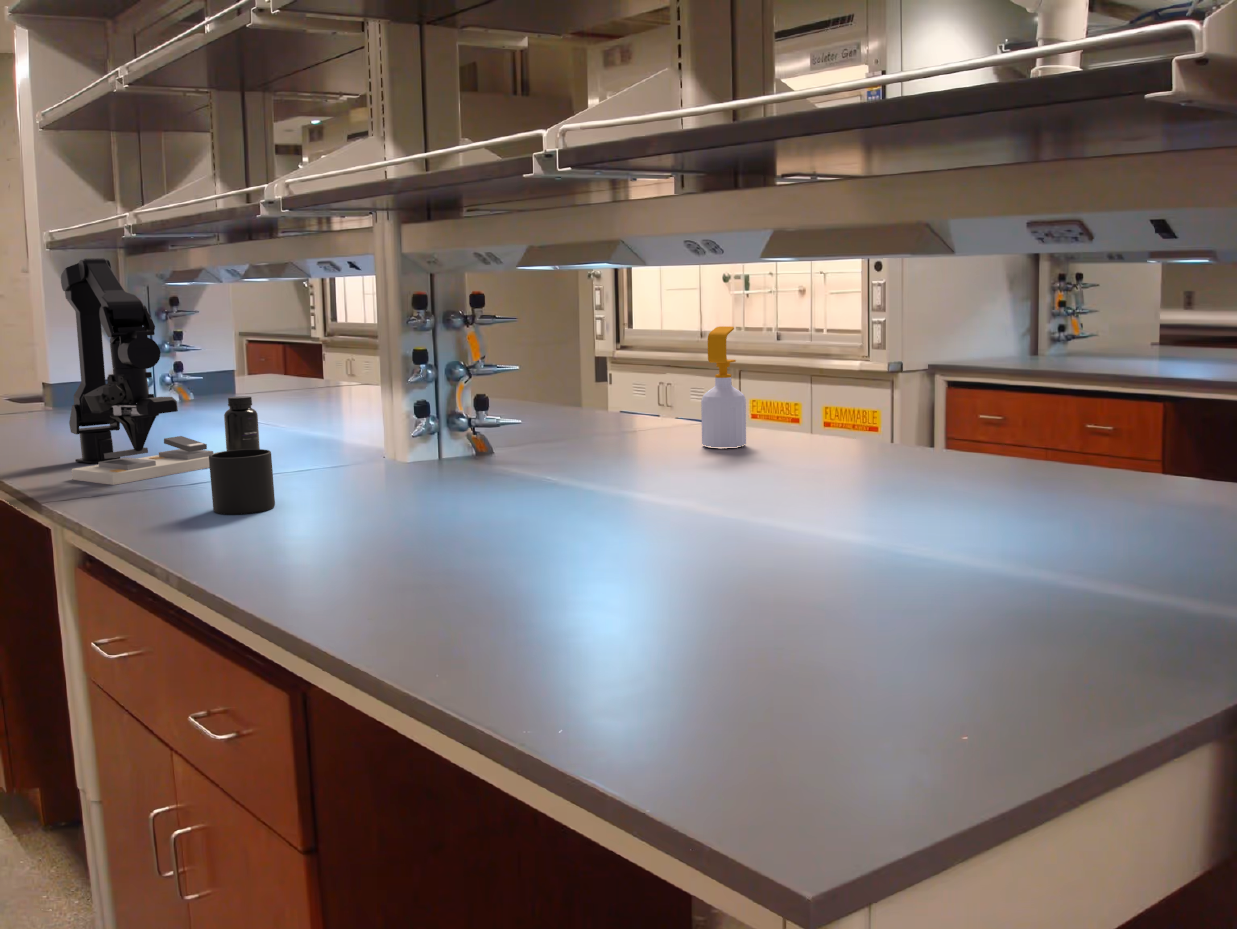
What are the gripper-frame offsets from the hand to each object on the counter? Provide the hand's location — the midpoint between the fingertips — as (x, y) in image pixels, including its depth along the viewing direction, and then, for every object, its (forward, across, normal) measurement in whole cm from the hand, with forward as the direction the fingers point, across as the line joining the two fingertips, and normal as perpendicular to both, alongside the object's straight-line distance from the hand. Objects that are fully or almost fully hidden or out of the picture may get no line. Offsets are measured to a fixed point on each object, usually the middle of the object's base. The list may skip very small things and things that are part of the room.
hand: (138, 451), depth 212 cm
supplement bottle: (+5, -8, +30) cm, 31 cm away
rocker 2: (+1, -4, +13) cm, 14 cm away
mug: (+6, +42, -10) cm, 44 cm away
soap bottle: (+7, +82, +79) cm, 114 cm away
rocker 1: (+1, -4, 0) cm, 4 cm away
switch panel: (+5, -5, +5) cm, 9 cm away
